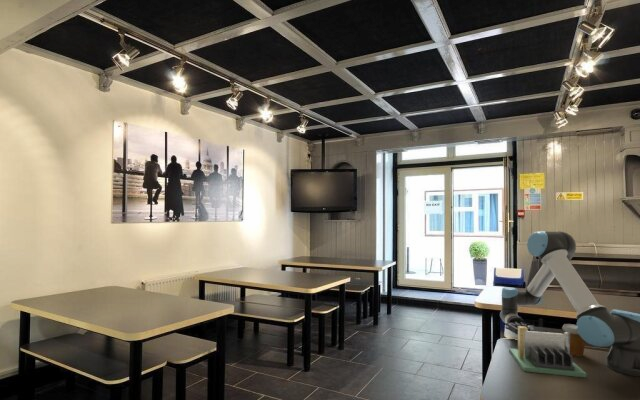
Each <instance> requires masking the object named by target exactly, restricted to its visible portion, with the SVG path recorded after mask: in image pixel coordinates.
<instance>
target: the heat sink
mask: <svg viewBox="0 0 640 400" xmlns="http://www.w3.org/2000/svg"><path fill="white" fill-rule="evenodd" d="M524 331H528V328H527V327H523V326H518V335H517V349H518V357H519V358H520V359H524ZM563 334H564V349H562V354H561V353H560V352H559V351H558V350H557V349H554V353H553V352H552V351H551V350H549V349H548V348H546V353H545V352H544V351H543V350H542V349H541V348H540V347H538V352H537V351H536V350H535V349H534V348H533V347H531V346H530V356H529V361H530V362H531V363H532V364H533V365H534V366H535V367H540V368H550V369H560V370H570V371H574V366H573V365H572V361H573V355H570V333H569V332H564V331H563Z"/></svg>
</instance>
